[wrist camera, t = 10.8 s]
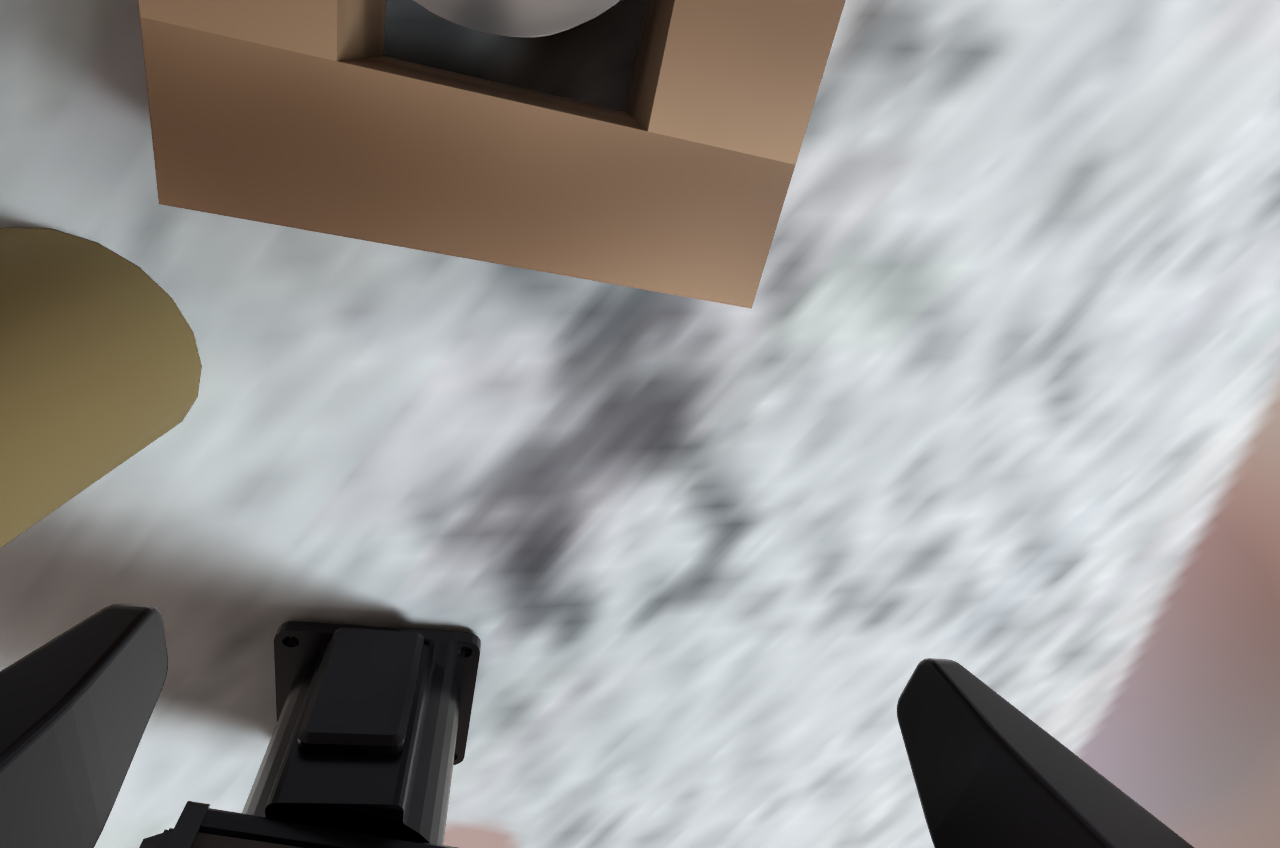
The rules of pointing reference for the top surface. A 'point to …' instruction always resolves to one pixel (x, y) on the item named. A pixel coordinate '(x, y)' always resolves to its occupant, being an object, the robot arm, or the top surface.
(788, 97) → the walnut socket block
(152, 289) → the cork
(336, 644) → the robot arm
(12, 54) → the top surface
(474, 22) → the grey metal peg
